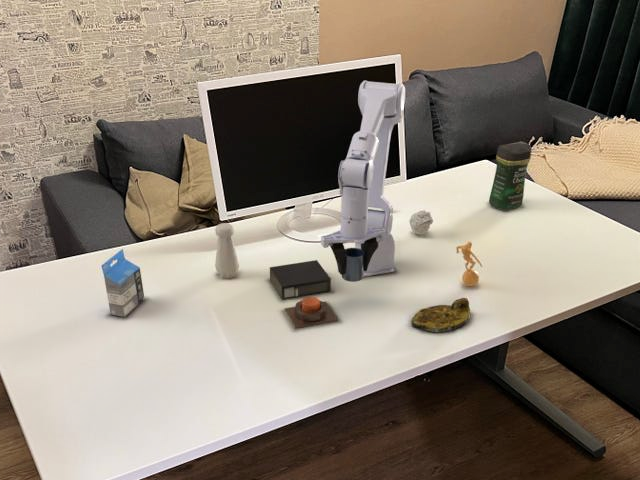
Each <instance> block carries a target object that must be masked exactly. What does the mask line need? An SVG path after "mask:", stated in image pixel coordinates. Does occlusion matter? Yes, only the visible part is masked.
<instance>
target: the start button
mask: <svg viewBox="0 0 640 480" xmlns="http://www.w3.org/2000/svg"><path fill="white" fill-rule="evenodd" d="M301 300H302V310H304V311H306V312H315V311H318V310H319V309H320V301H321V300H320V298H318V297H315V296H307V297H306V296H305V297H304V298H303V299H301Z"/></svg>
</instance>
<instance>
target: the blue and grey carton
mask: <svg viewBox="0 0 640 480" xmlns="http://www.w3.org/2000/svg"><path fill="white" fill-rule="evenodd" d="M113 261H114V262H115V261H116V262H115V263H114V264H113ZM111 264H112V265H111ZM101 270H102V274H103V279H104V285H105V289H106V290H105V291H106V295H107V303H108V308H109V313H110V316H115V317H120V318H126V317H127V316H128V315H129V314H130V313H131V312H132V311H134V309H136V308H137V307H138V306H139V305H140V304H141V303H142V302H143V301H145V292H144V286H143V285H144V284H143V279H142V272H141V267H140V266H138V265H136V264H135V263H133V262H131V261H130V260H128V259H126V258H125V252H124V248H122V249H120V250H119V251H118V252H117V253H115V254H113V256H111V257H110V258H109V259H107V261H105V262H104V263H103V264H101Z"/></svg>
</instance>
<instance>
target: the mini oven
mask: <svg viewBox="0 0 640 480" xmlns="http://www.w3.org/2000/svg"><path fill="white" fill-rule="evenodd" d="M269 281H270V282H271V284H272V285H273V287H274V289H275V291H276V292H277V294H278V295H279V297H280V299H281V300H283V301H284V300H287V299H288V300H289V299H295V298H300V297H306V296H312V295H318V294H325V293H329V292H330V293H331V288H332V287H331V286H332V285H331V284H332V282H331V281H332V278H331V277H330V276H329V274H328V273H327V272H326V270H325V269H324V268H323V266H322V265H321V263H320V262H319V260H317V259H315V260H309V261H307V260H306V261H302V262H295V263H288V264H282V265H281V264H280V265H276V266H269Z"/></svg>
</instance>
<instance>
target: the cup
mask: <svg viewBox="0 0 640 480" xmlns="http://www.w3.org/2000/svg"><path fill="white" fill-rule="evenodd" d="M345 249H346V251H347V253H346V258H345V273H344V275H341V278H342V280H344V281H346V282H350V283H355V282H360V281H362V280H363V279H364V277H363V275H364V251H363V250H361V249H359V248H355V247H348V248H347V247H346V248H345Z"/></svg>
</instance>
